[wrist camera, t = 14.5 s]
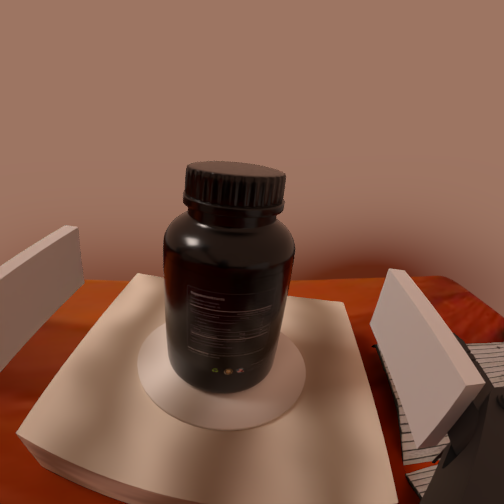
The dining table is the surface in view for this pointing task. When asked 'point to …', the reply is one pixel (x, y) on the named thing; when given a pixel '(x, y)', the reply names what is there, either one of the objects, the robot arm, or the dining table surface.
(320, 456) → the stand
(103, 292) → the dining table surface
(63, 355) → the dining table surface
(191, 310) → the supplement bottle
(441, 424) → the robot arm
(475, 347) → the mat
